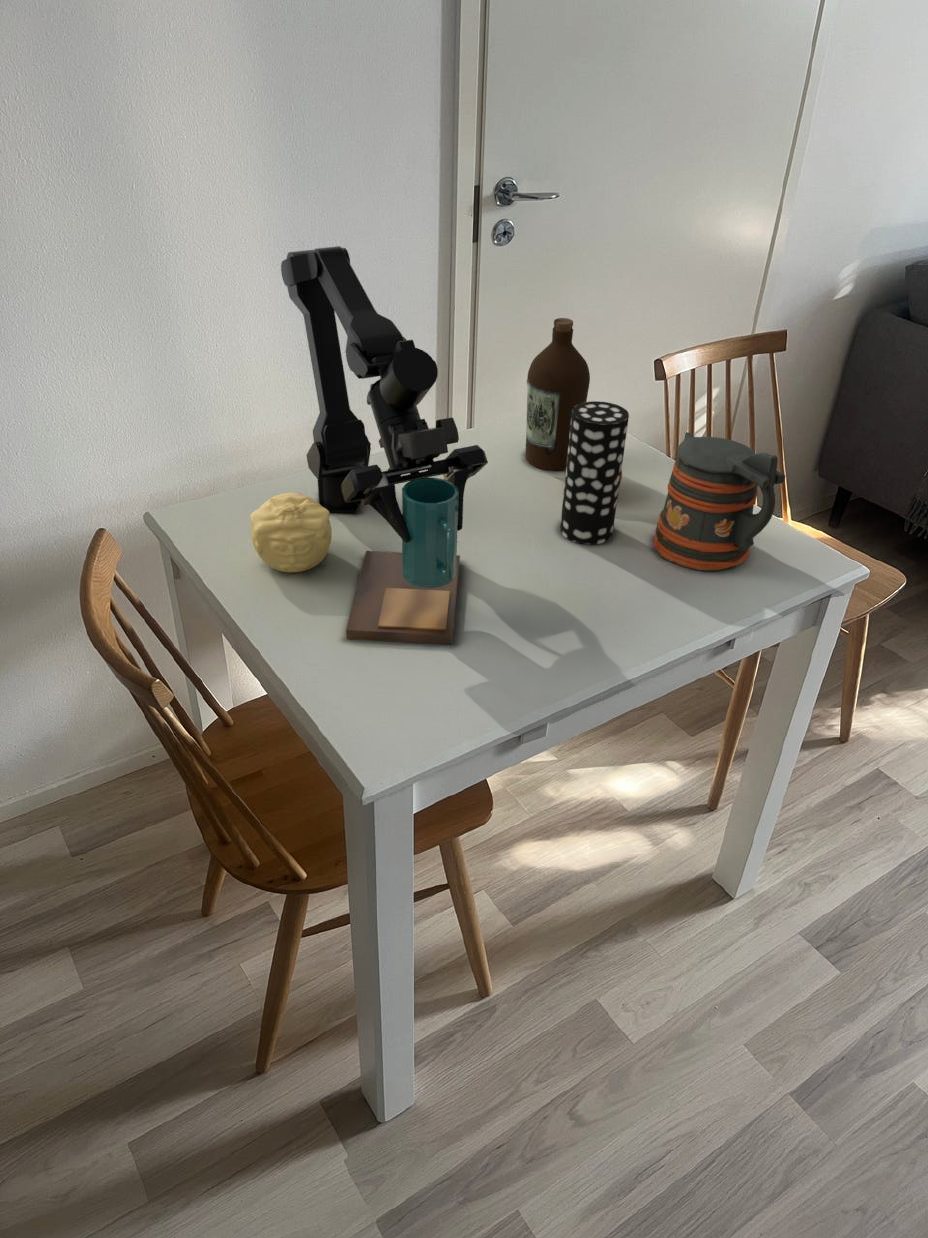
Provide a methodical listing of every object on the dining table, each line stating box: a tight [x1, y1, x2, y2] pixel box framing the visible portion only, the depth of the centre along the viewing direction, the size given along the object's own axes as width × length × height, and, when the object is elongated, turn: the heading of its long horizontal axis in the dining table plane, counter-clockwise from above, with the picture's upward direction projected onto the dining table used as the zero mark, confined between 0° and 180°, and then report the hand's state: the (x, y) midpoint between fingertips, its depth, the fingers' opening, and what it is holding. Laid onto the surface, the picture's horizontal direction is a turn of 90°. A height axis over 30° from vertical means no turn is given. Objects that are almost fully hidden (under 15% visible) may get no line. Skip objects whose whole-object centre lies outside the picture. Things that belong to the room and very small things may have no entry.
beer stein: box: [653, 431, 786, 572], centre depth 142 cm, size 19×15×20 cm
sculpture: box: [249, 492, 333, 573], centre depth 140 cm, size 12×12×11 cm
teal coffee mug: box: [401, 477, 459, 588], centre depth 124 cm, size 10×7×12 cm
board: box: [345, 550, 461, 645], centre depth 135 cm, size 14×20×2 cm
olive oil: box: [524, 317, 591, 471], centre depth 166 cm, size 11×11×25 cm
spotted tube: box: [559, 400, 630, 545], centre depth 147 cm, size 8×8×20 cm
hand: (433, 535), depth 124 cm, fingers closed on teal coffee mug, 7 cm apart
